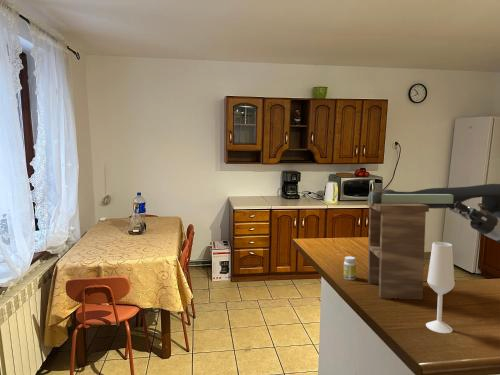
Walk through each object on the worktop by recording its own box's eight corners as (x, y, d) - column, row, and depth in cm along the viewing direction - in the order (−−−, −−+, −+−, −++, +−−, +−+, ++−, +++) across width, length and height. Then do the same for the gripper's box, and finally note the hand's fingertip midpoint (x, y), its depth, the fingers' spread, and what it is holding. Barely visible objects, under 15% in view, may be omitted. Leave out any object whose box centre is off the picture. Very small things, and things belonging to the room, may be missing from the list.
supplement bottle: (356, 276, 139) (356, 256, 138) (355, 280, 135) (356, 259, 134) (343, 275, 141) (344, 255, 140) (343, 279, 136) (343, 258, 136)
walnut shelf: (365, 281, 133) (366, 200, 131) (407, 282, 132) (409, 200, 130) (377, 298, 117) (379, 205, 115) (425, 299, 116) (428, 205, 114)
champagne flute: (430, 319, 102) (433, 239, 100) (456, 327, 97) (459, 243, 95) (421, 327, 97) (424, 243, 95) (448, 335, 92) (451, 248, 90)
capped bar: (367, 202, 125) (368, 191, 125) (447, 202, 123) (447, 191, 123) (371, 203, 121) (371, 192, 120) (454, 203, 119) (454, 192, 119)
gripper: (483, 213, 128) (445, 191, 128) (509, 219, 113) (466, 195, 114) (471, 230, 128) (434, 208, 129) (496, 238, 114) (454, 214, 114)
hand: (449, 202), depth 121 cm, fingers open, 8 cm apart
